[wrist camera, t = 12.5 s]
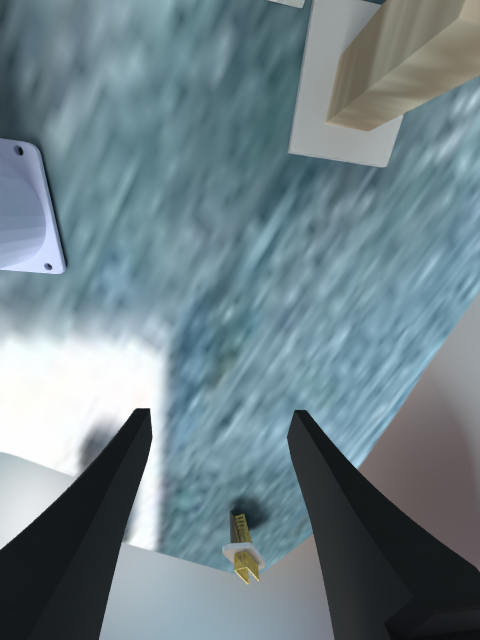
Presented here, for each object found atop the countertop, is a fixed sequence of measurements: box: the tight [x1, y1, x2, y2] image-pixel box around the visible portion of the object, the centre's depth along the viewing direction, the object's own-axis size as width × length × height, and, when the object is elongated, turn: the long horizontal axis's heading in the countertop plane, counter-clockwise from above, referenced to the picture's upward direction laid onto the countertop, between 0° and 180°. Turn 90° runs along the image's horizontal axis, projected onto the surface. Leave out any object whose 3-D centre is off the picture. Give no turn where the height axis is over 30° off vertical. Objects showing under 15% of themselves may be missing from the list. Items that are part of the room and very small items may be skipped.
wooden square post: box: [325, 0, 480, 132], centre depth 10 cm, size 3×3×9 cm
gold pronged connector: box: [222, 512, 266, 584], centre depth 34 cm, size 12×18×7 cm, turn 19°
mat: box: [288, 0, 404, 168], centre depth 14 cm, size 7×7×1 cm
